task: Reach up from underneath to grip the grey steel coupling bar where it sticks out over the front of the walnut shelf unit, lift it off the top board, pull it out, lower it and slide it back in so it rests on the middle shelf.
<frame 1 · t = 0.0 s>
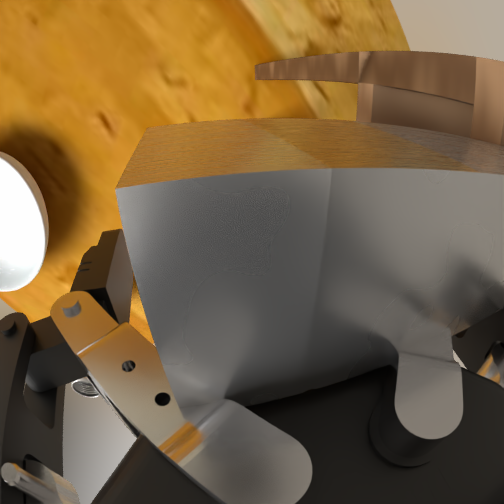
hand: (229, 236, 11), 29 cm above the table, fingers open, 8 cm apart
plastic bottle: (103, 283, 44), on the table
serving bowl: (3, 207, 33), on the table
walnut shelf: (318, 102, 38), on the table
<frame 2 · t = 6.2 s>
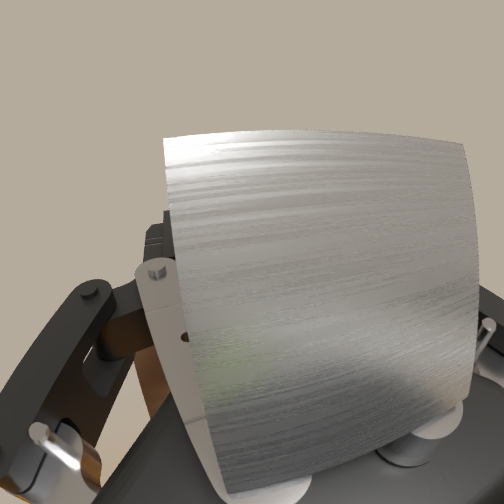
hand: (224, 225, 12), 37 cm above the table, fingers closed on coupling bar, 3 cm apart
coupling bar: (226, 292, 15), point 34 cm above the table, touching gripper, walnut shelf
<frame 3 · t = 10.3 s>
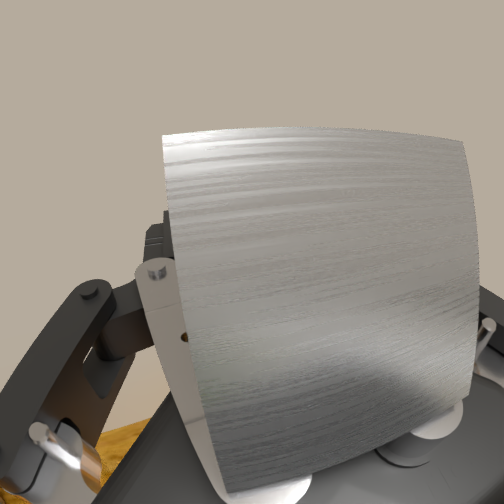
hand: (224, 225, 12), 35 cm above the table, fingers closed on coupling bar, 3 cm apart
coupling bar: (226, 291, 15), point 32 cm above the table, touching gripper
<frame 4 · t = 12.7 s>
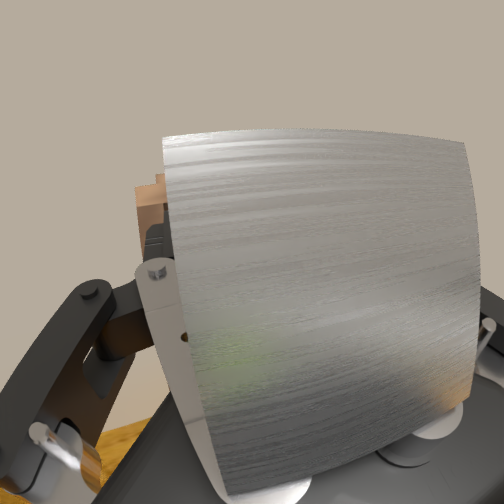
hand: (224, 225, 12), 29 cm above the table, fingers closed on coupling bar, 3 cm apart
coupling bar: (226, 292, 15), point 26 cm above the table, touching gripper
walnut shelf: (241, 462, 32), on the table
when the fingers open (29 cm above the table, at t = 14.7 s): coupling bar drops 1 cm, resting on walnut shelf.
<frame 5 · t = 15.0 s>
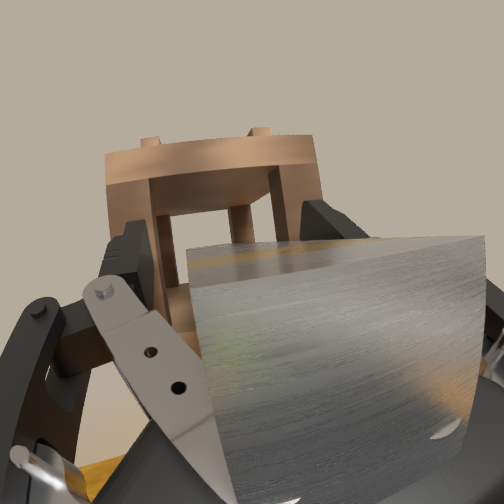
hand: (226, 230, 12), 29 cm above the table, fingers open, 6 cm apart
coupling bar: (230, 314, 15), point 25 cm above the table, touching walnut shelf
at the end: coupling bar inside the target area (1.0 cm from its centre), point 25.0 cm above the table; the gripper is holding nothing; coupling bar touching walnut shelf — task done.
